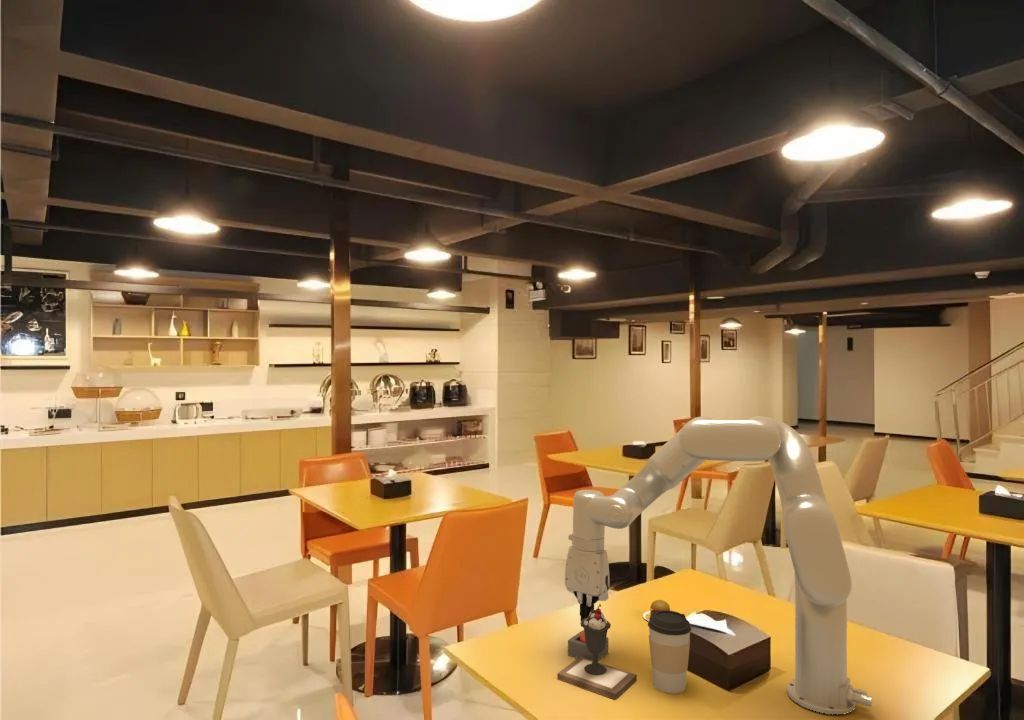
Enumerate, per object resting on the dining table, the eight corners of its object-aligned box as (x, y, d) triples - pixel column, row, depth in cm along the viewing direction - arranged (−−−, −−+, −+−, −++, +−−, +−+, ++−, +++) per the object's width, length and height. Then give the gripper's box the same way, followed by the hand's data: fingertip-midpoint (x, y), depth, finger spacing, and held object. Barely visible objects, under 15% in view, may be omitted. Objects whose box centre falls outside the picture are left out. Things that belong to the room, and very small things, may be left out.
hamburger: (632, 612, 171) (632, 592, 171) (673, 611, 172) (673, 592, 172) (643, 630, 159) (644, 609, 160) (688, 629, 160) (688, 608, 160)
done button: (599, 642, 145) (599, 634, 145) (591, 648, 142) (591, 639, 142) (585, 638, 147) (585, 629, 147) (577, 643, 144) (577, 635, 144)
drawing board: (636, 680, 132) (636, 673, 132) (615, 700, 124) (615, 693, 124) (580, 661, 141) (580, 655, 141) (557, 678, 133) (557, 672, 133)
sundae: (601, 680, 129) (602, 609, 130) (574, 670, 133) (575, 602, 134) (616, 668, 135) (616, 600, 135) (589, 659, 139) (590, 593, 139)
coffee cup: (649, 694, 127) (649, 621, 127) (645, 673, 136) (646, 605, 136) (694, 697, 125) (694, 624, 126) (687, 676, 134) (687, 607, 135)
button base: (608, 652, 145) (608, 637, 145) (594, 663, 140) (594, 648, 140) (582, 644, 149) (582, 630, 150) (567, 655, 144) (567, 640, 144)
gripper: (553, 540, 147) (551, 617, 146) (609, 553, 138) (607, 634, 137) (569, 534, 153) (567, 607, 152) (624, 545, 144) (622, 623, 143)
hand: (586, 620), depth 145 cm, fingers closed
